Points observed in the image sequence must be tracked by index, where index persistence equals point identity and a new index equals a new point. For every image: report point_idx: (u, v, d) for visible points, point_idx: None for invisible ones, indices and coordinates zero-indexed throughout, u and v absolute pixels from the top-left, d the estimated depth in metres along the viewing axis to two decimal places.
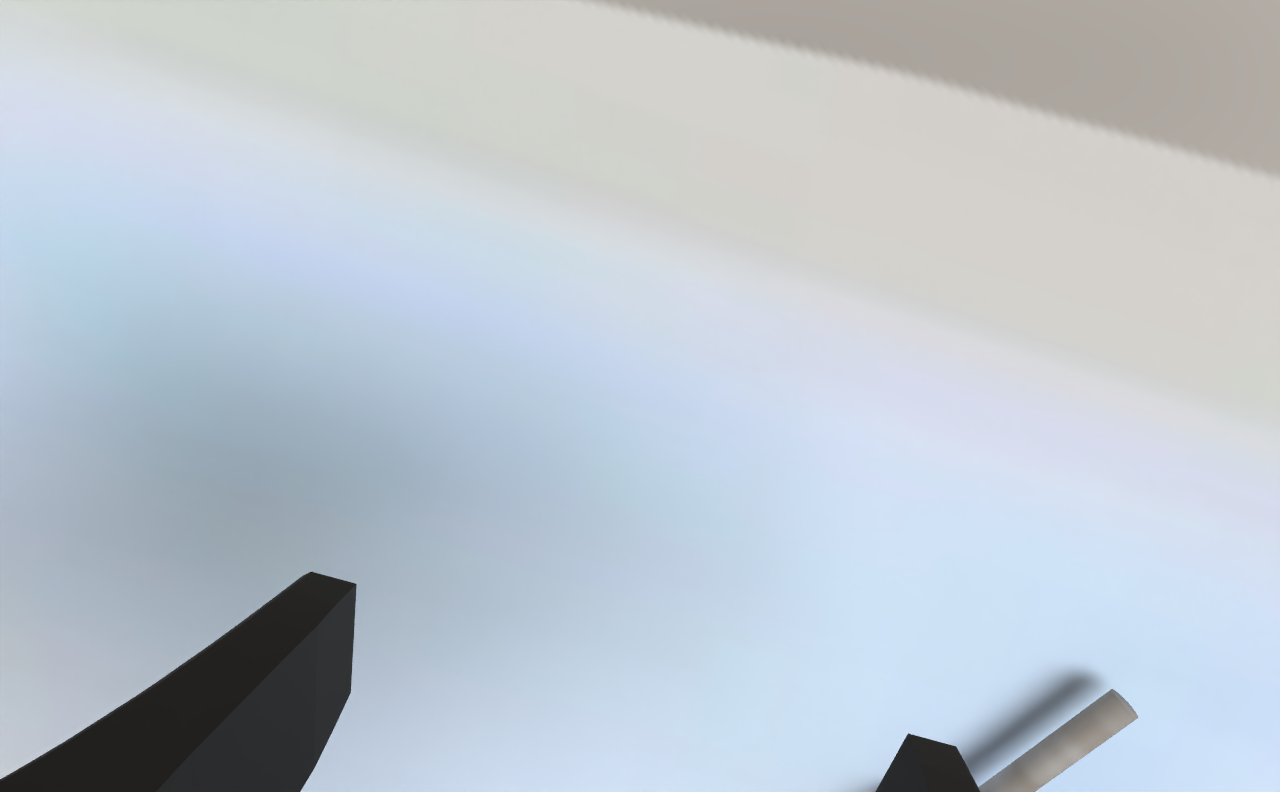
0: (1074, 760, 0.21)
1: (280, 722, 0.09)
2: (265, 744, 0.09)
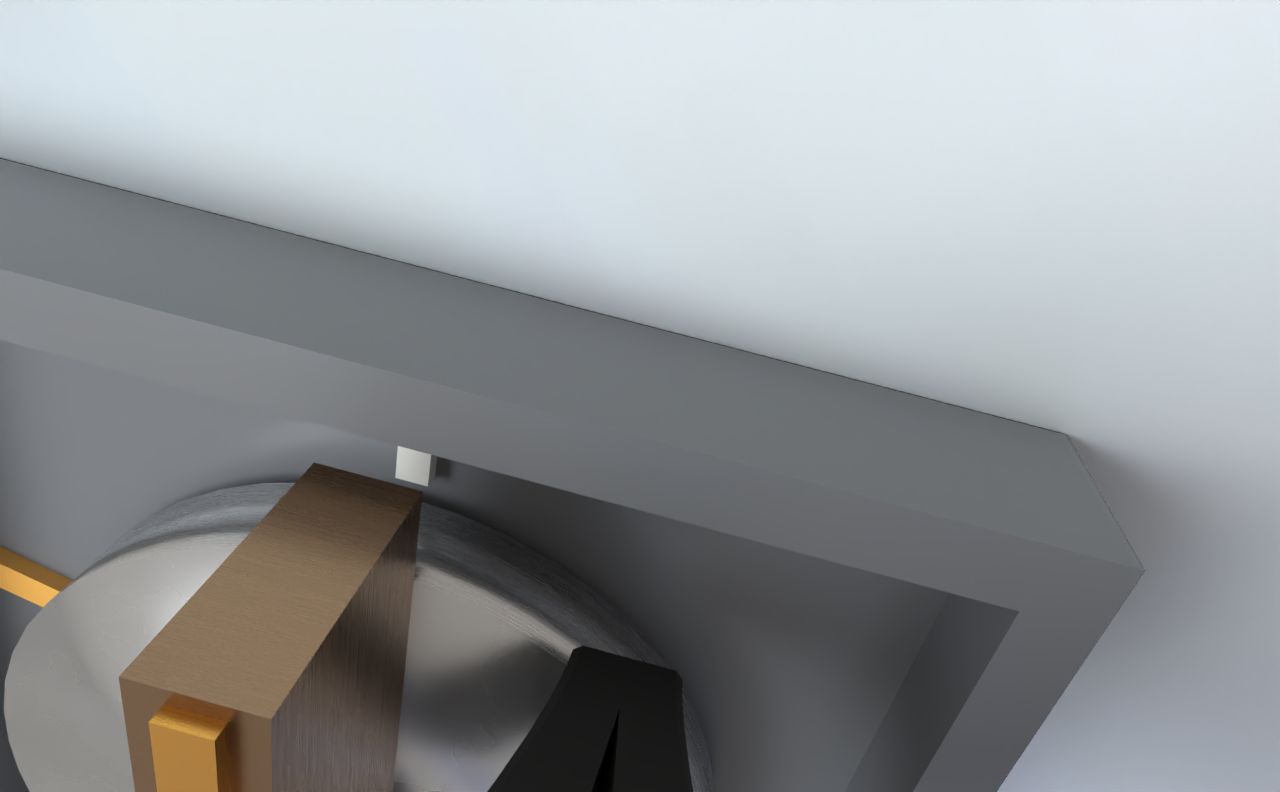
0: None
1: None
2: None
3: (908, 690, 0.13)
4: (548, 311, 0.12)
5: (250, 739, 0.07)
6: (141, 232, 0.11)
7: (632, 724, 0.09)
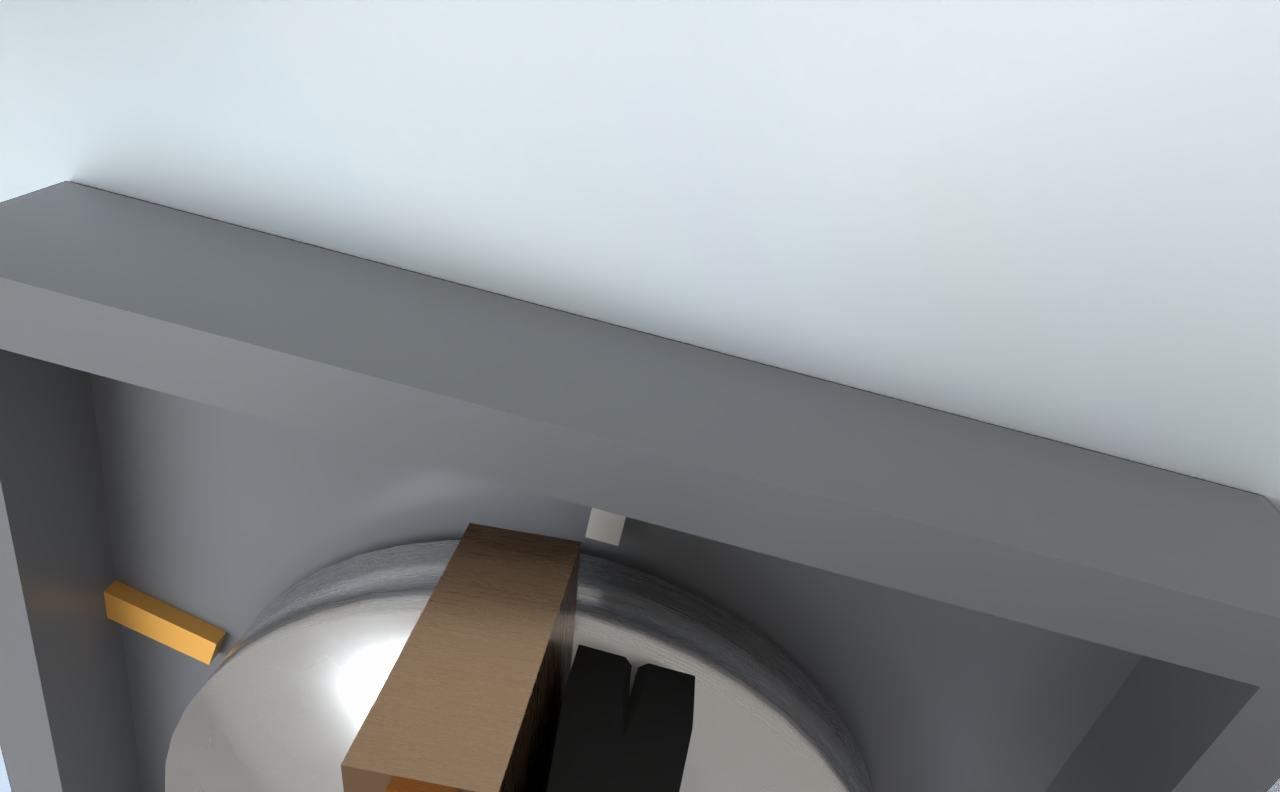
0: None
1: None
2: None
3: (1092, 748, 0.13)
4: (746, 371, 0.12)
5: None
6: (344, 292, 0.11)
7: (575, 708, 0.09)
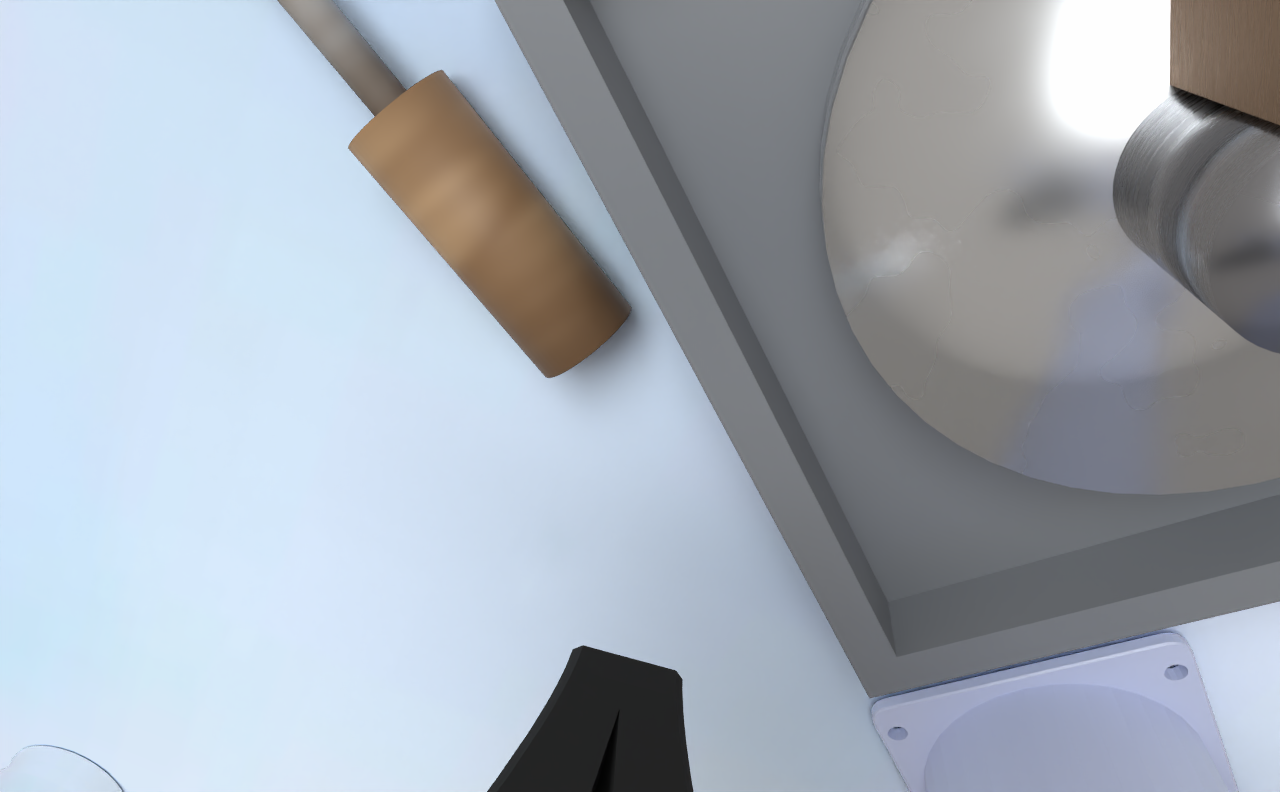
0: None
1: None
2: None
3: None
4: None
5: None
6: None
7: (632, 724, 0.09)
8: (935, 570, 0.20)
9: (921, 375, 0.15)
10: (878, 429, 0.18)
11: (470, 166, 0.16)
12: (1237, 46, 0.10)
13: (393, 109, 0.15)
